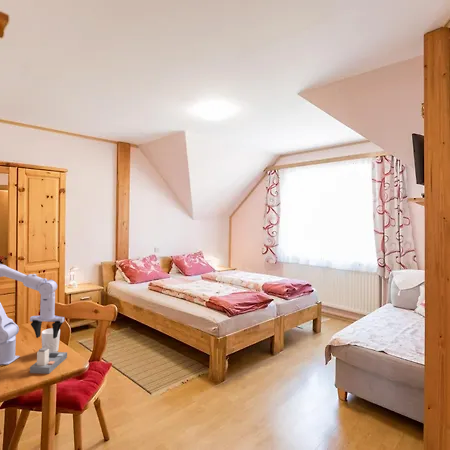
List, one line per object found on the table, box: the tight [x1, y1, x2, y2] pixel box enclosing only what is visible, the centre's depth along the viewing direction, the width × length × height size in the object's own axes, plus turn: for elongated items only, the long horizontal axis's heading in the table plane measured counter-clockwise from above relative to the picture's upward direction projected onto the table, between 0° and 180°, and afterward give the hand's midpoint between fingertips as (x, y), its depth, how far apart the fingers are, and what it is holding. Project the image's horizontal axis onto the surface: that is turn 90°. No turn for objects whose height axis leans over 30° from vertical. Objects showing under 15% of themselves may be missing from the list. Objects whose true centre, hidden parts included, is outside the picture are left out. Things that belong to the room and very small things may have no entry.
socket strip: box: [29, 351, 68, 374], centre depth 138 cm, size 8×15×3 cm, turn 1°
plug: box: [36, 347, 49, 366], centre depth 134 cm, size 3×3×9 cm
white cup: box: [41, 327, 61, 352], centre depth 151 cm, size 8×8×10 cm
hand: (46, 337), depth 142 cm, fingers open, 7 cm apart
